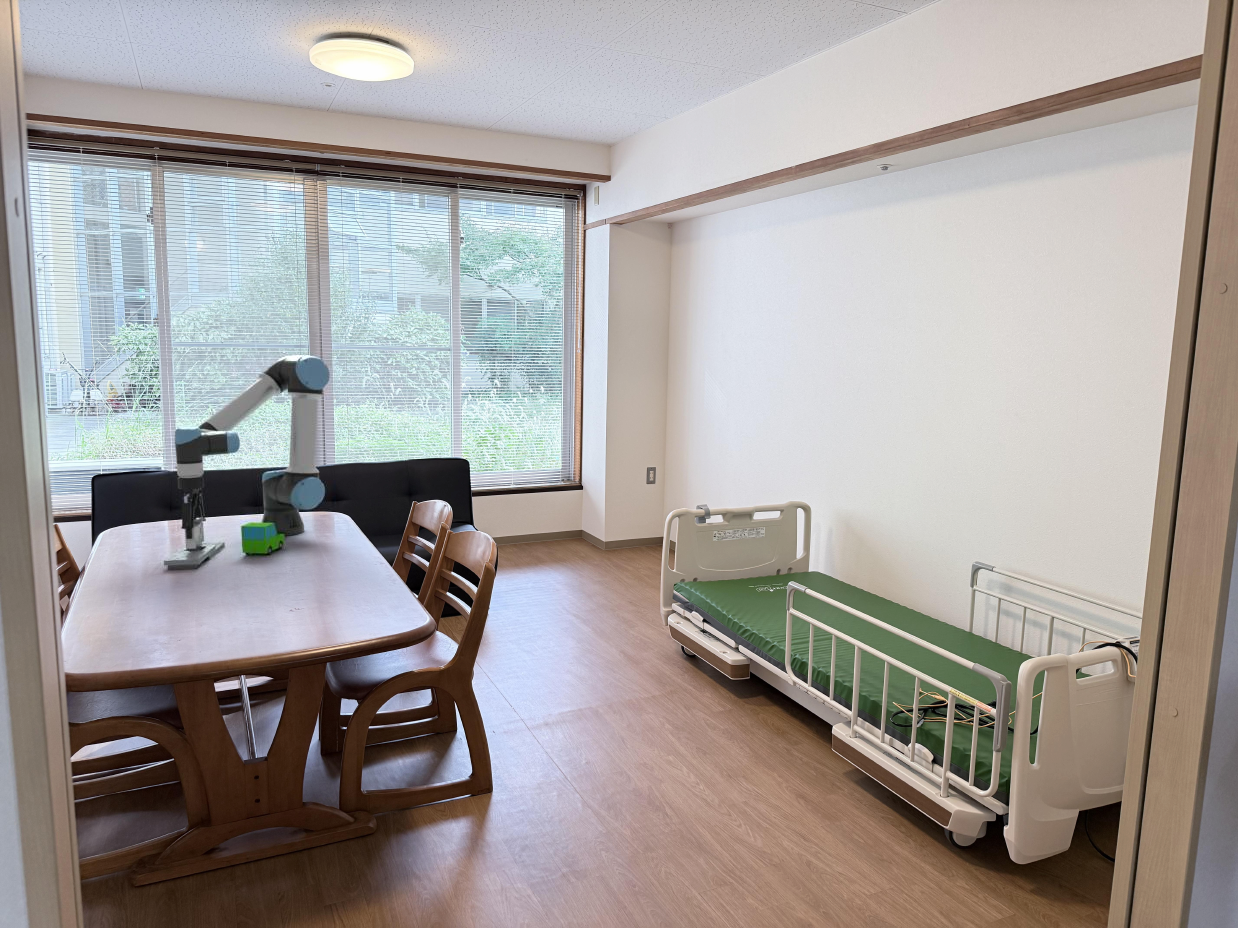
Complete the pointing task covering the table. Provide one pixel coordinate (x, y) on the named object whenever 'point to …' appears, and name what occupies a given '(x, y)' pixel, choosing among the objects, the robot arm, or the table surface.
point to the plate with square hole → (192, 556)
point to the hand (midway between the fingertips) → (195, 544)
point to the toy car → (261, 538)
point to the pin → (197, 533)
